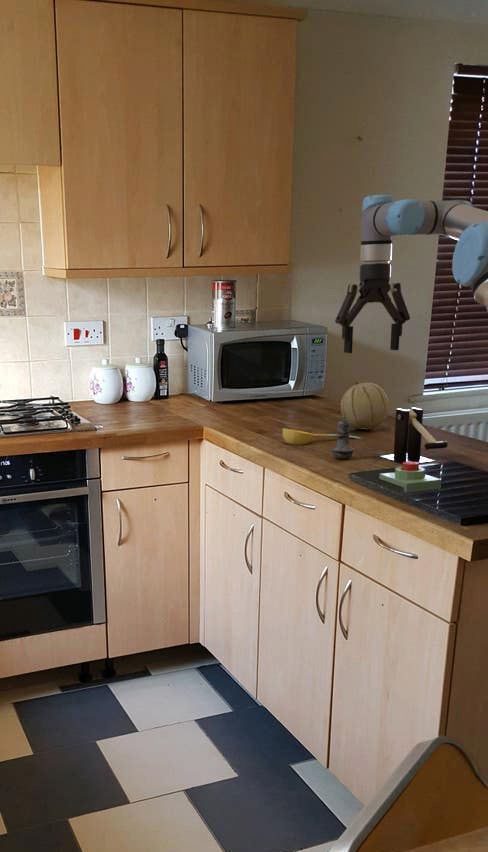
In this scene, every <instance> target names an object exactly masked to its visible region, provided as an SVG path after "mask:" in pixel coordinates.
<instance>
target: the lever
mask: <svg viewBox="0 0 488 852" xmlns="http://www.w3.org/2000/svg"><path fill="white" fill-rule="evenodd" d="M406 410H408V411H410V412H409V423H412V424H413V425H414V426H415V428H416V429H417V430H418V431H419V432H420V433H421V434H422V437H423V438H424V439H425V440H426V441H427V442H426V443H425V444H424V449H425V450H427V451H429V450H438V449H447V448H448V442H447V441H446V440H445V441H437V440H436V439H435V438H434V437H433V436H432V435H431V434H430V433H429V431H427V430H426V428H425V427H424V425H423V424H422V425H421V424H420V423H419V422H418V421H417V420H416V417H417V414H416V413H415V412H414V411H413V410H412V409H410V408H408V409H406Z"/></svg>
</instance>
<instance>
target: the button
mask: <svg viewBox="0 0 488 852" xmlns="http://www.w3.org/2000/svg"><path fill="white" fill-rule="evenodd" d="M401 465H402V470H406V471H417V470H419V467H420V464H419V463H418V462H412V461H407V462H403V464H401Z"/></svg>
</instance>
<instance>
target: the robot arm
mask: <svg viewBox="0 0 488 852" xmlns="http://www.w3.org/2000/svg"><path fill="white" fill-rule="evenodd" d="M360 230H361V231H360V257H359V258H360V260H359V261H360V263H362V264H360V266H359V277H358V278H359V285H357V284H355V283H353V284H351V283H350V284H348V286H347V292H346V295H345V298H344V299H343V301H342V304H341V307H340V309H339V310H338V313H337V316H336V318H335V320H334V322H335V324H338V325H339V326H341V339H342V340H343V341H344V344H343V353H345V354H353V343H354V342H353V339H354V326H353V325H352V323H353V322H354V320H355V319H356V318H357V317H358V315H359V313H360V312H361V311H362V310H363V308H364V307H365V305H367V304H370V303H371V304H372V303H373V304H374V303H379V304H381V305H382V306H383V307H384V308H385V310H386V311H387V313H388V314H389V316H390V318H391V319H392V321H393V322H394V323H391V327H390V345H389V346H390V349H389V350H390V351H400V337H402V335H403V324H405V323H406V322H407V321H410V320H411V315H410V313H409V310H408V308H407V305H406V302H405V299H404V297H403V294H402V287H401V286H402V285H401V284H402V283H400V282H392V283H390V280H391V274H392V265H391V263H390V262H391V261H392V255H393V237H396V236H429V235H430V236H431V235H432V236H435V235H437V236H445V237H447V238H450V239H453V240H456V241H457V242H456V244H455V247H454V250H453V251H454V252H453V255H452V265H451V266H452V274H453V277H454V280H455V281H456V283H457V284H459V285H461V286H464V287H470V288H471V292H472V294H473V298H474V301H475V302H477V303H478V304H481V305H485V308H486V311H487V313H488V210H484V209H482V208H478V207H474V206H473V203H472V202H470V201H468V200H462V199H453V200H450V199H449V200H416V199H411V198H409V199H407V198H406V199H405V198H403V199H399V200H396V201H395V196H393V195H392V194H373V195H368V196H365V197H364V198H363V201H362V210H361V229H360ZM389 292H390V293H391V296H392V298H391V296H390V295H389ZM358 293H359V294H360V295H359V296H358V297H357V294H358ZM356 297H357V299H356ZM355 299H356V302H355V303H354V301H355ZM392 300H393V302H392ZM353 303H354V304H353Z"/></svg>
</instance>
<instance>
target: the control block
mask: <svg viewBox="0 0 488 852" xmlns="http://www.w3.org/2000/svg"><path fill="white" fill-rule="evenodd" d="M378 476H379V477H378V478H379V480H381V481H378V483H379V482H380V483H383V484H385V485H384V486H386V485H387V486H386V487H389V486H390V487H389V488H392V489H395V490H397V491H400V492H403V493H406V494H407V493H408V494H409V493H416V492H424V491H433V490H434V491H435V490H441V488H442V479H441V478H438V477H434V476H431V475H428V474H426V468H425V467H422V466H419V470H417V471H406V470H402V466H397V467H395V469H394V472H385V473H379V475H378ZM382 481H384V482H382ZM386 482H387V483H386ZM380 483H379V484H380ZM388 483H390V484H388ZM383 484H382V485H383ZM391 484H392V485H391ZM394 485H396V486H398V487H396V486H394Z"/></svg>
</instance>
